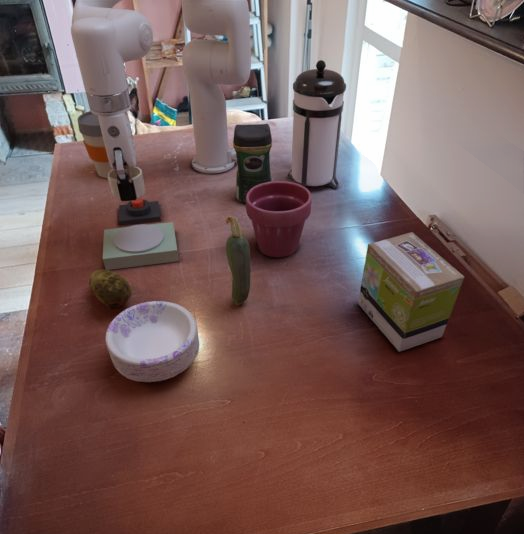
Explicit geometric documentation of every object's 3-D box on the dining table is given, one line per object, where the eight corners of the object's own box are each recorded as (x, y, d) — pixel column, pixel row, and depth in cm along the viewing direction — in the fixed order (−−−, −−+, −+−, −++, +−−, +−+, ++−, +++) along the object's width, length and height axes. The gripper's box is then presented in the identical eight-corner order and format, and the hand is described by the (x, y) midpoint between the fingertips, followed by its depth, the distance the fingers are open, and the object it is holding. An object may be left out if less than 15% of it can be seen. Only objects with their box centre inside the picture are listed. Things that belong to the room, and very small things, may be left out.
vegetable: (254, 301, 97) (252, 212, 83) (247, 314, 94) (243, 225, 80) (234, 296, 98) (229, 208, 84) (226, 310, 95) (219, 220, 81)
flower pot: (254, 227, 117) (253, 177, 107) (312, 233, 114) (315, 182, 105) (241, 260, 107) (238, 208, 98) (303, 267, 105) (306, 215, 96)
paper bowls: (163, 407, 78) (155, 375, 72) (97, 371, 84) (84, 339, 78) (218, 351, 87) (214, 318, 81) (154, 321, 93) (147, 289, 87)
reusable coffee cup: (115, 158, 144) (102, 105, 134) (144, 168, 139) (134, 114, 129) (82, 173, 137) (66, 119, 127) (111, 185, 132) (97, 129, 121)
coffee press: (350, 176, 135) (365, 56, 113) (324, 200, 125) (335, 73, 104) (296, 162, 141) (302, 46, 120) (268, 184, 132) (268, 62, 110)
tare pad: (159, 205, 124) (157, 195, 122) (161, 221, 119) (159, 210, 117) (120, 209, 123) (117, 199, 121) (120, 226, 117) (117, 215, 115)
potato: (134, 279, 102) (126, 247, 97) (135, 318, 94) (127, 285, 88) (94, 284, 101) (84, 252, 95) (92, 324, 92) (80, 292, 87)
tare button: (143, 202, 120) (142, 197, 119) (144, 208, 118) (142, 202, 117) (132, 204, 120) (131, 198, 119) (132, 209, 118) (131, 203, 117)
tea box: (355, 304, 96) (366, 241, 85) (397, 292, 99) (413, 229, 88) (398, 354, 86) (417, 289, 76) (443, 338, 89) (467, 274, 78)
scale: (174, 232, 115) (172, 219, 112) (178, 261, 107) (176, 247, 104) (107, 240, 113) (103, 227, 110) (105, 270, 105) (101, 256, 102)
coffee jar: (271, 189, 130) (271, 118, 116) (273, 204, 124) (273, 131, 111) (235, 190, 130) (232, 119, 116) (235, 205, 124) (232, 132, 111)
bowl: (145, 184, 103) (141, 164, 100) (146, 200, 99) (142, 179, 95) (113, 188, 102) (107, 167, 99) (112, 203, 98) (107, 182, 94)
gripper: (130, 115, 82) (148, 209, 95) (129, 84, 94) (145, 171, 107) (85, 119, 81) (109, 213, 94) (90, 86, 93) (111, 174, 106)
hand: (128, 190), depth 100 cm, fingers closed on bowl, 7 cm apart
